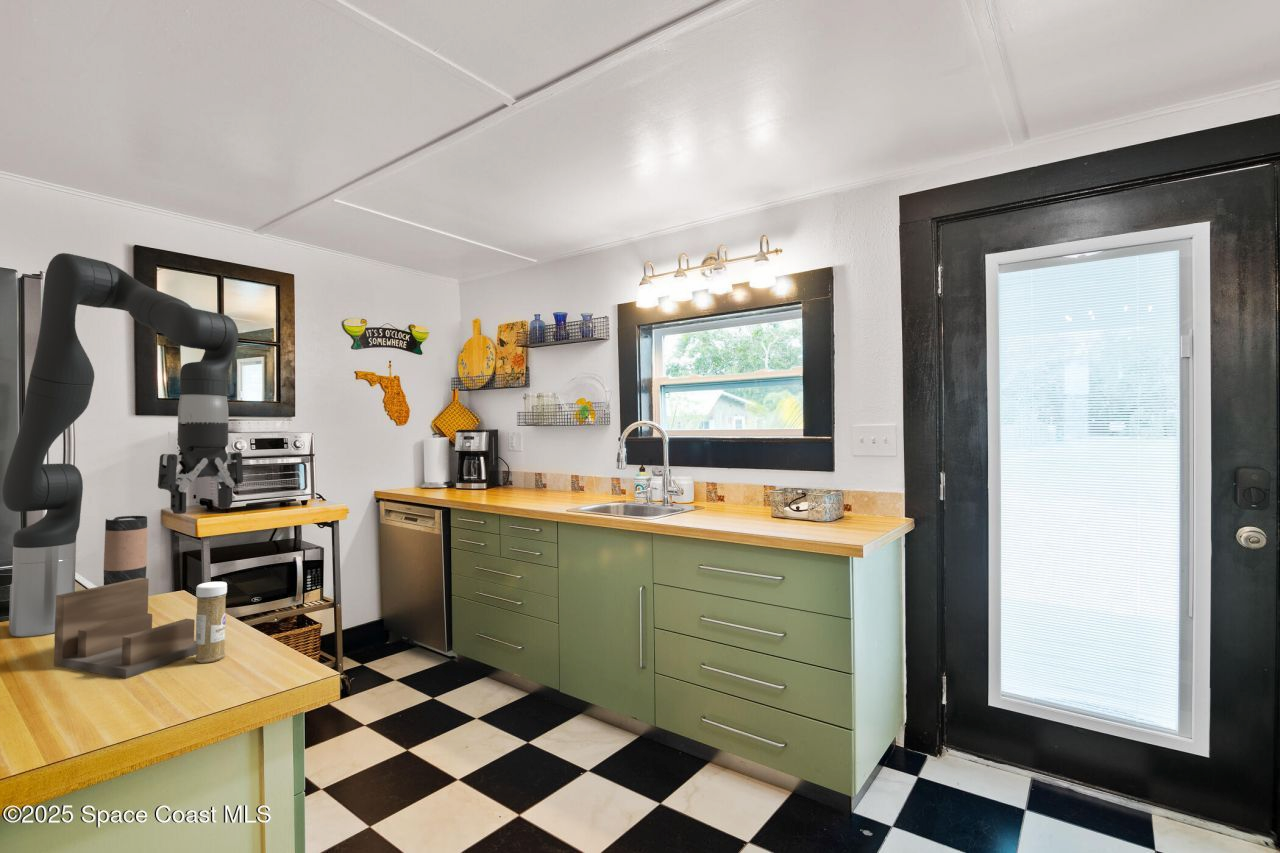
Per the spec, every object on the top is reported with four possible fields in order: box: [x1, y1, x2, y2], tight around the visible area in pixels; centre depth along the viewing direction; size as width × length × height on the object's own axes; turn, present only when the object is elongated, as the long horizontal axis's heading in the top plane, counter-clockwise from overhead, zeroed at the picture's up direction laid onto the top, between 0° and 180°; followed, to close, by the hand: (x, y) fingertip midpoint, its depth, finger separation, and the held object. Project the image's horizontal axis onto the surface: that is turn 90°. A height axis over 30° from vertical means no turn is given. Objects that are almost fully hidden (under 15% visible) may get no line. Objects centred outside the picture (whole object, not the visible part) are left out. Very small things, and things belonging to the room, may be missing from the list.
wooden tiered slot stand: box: [53, 577, 196, 679], centre depth 112 cm, size 17×14×12 cm
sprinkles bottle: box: [194, 581, 228, 664], centre depth 112 cm, size 5×5×13 cm
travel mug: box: [103, 515, 148, 586], centre depth 144 cm, size 8×8×20 cm
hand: (202, 510), depth 113 cm, fingers open, 8 cm apart
